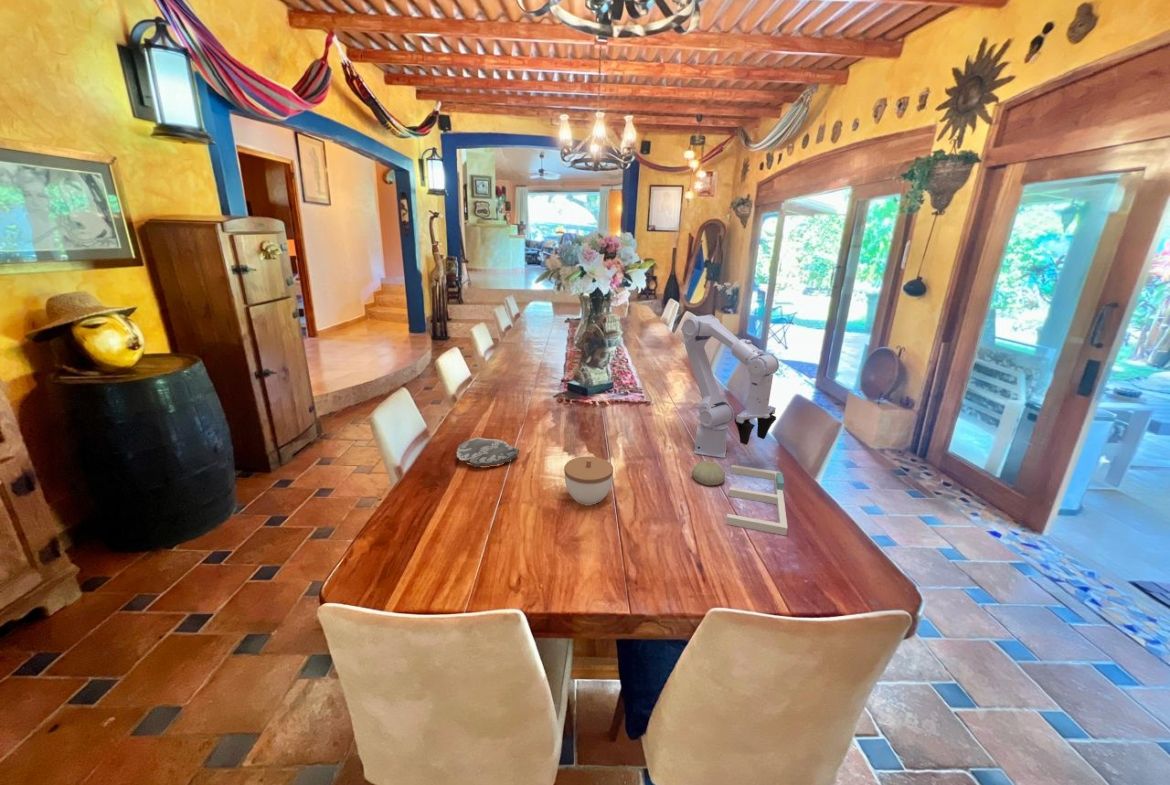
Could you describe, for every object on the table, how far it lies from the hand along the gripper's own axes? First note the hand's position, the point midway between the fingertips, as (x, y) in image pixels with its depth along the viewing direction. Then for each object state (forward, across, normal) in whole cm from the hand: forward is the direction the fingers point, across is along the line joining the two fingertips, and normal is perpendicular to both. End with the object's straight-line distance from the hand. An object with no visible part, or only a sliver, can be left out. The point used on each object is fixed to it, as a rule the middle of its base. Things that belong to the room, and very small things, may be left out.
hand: (752, 440), depth 136 cm
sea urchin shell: (+10, -15, +2) cm, 18 cm away
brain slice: (+10, -64, +47) cm, 80 cm away
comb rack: (+9, -12, -12) cm, 20 cm away
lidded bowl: (+10, -50, +11) cm, 52 cm away
